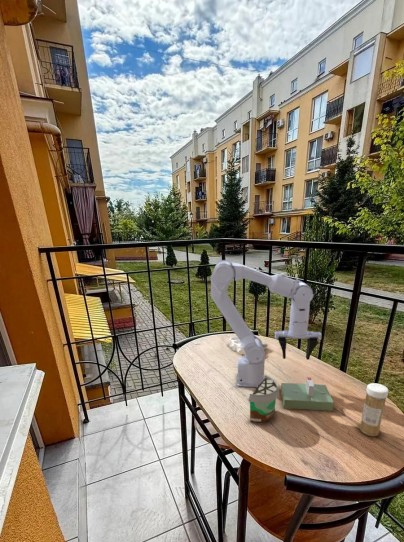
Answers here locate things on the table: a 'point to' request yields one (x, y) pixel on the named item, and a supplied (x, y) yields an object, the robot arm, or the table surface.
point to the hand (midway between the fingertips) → (295, 358)
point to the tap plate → (306, 397)
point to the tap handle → (309, 386)
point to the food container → (263, 401)
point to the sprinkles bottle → (373, 409)
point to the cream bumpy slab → (240, 345)
